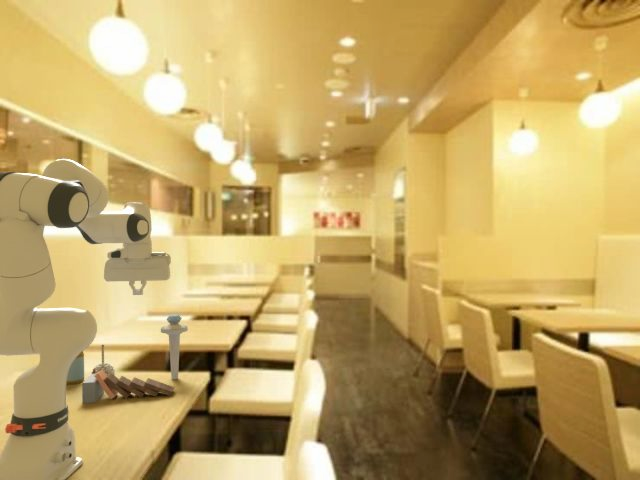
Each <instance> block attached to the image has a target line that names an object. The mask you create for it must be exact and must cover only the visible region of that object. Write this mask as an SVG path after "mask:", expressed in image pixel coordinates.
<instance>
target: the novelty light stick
mask: <svg viewBox="0 0 640 480" xmlns="http://www.w3.org/2000/svg"><path fill="white" fill-rule="evenodd" d="M181 320H182V316H181V315H179V314H170V315H169V316H168V317H166V321H167V322H168V323H169V324H168V325H165V326H162V327H160V333H162V334H166V335H168V342H169V343H168V345H169V359H170V374H171V375H170V376H171V377H170V379H171V380H173V381H174V380H178V379H179V368H180V367H179V366H180V365H179V364H180V363H179V361H180V342H181V341H180V340H181V334H182V333H185V332H187V331H188V329H189V328H188V325H184V324H180V322H181Z"/></svg>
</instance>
